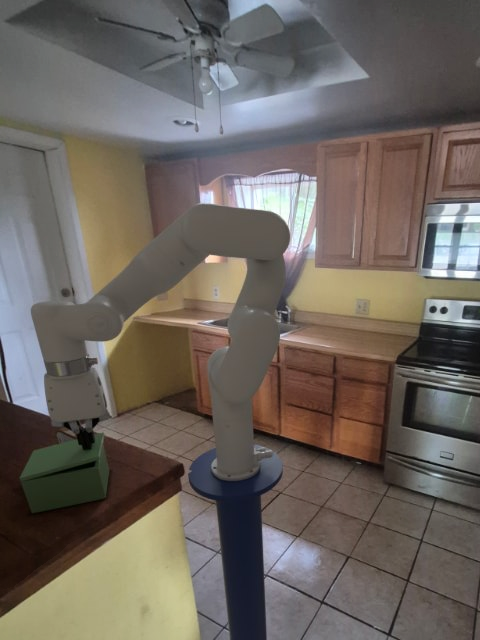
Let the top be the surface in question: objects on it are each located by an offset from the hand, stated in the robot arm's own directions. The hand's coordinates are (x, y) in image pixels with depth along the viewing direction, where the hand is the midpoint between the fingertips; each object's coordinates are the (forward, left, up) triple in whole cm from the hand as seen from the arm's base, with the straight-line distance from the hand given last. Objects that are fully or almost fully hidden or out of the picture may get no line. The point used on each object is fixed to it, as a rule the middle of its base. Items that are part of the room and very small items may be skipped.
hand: (88, 446), depth 80 cm
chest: (+5, 0, -10) cm, 11 cm away
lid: (+4, 0, -2) cm, 5 cm away
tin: (+5, -13, -11) cm, 18 cm away
